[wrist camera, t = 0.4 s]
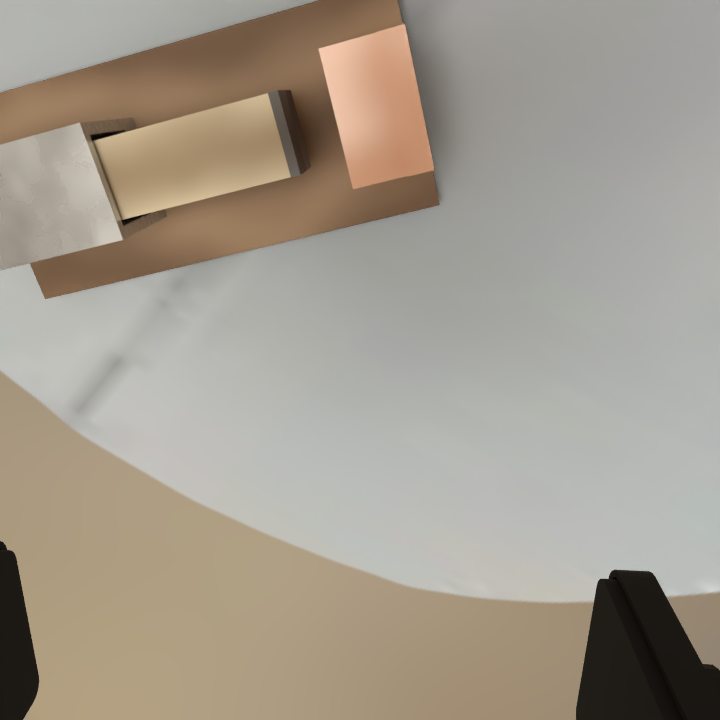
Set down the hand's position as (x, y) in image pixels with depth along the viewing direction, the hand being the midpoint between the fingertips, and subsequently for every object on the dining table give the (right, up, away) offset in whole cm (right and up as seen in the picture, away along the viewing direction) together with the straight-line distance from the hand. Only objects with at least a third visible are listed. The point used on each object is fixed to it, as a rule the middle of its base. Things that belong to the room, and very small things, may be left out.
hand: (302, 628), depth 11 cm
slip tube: (-11, +15, +27) cm, 33 cm away
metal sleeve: (-16, +15, +30) cm, 37 cm away
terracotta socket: (+2, +18, +27) cm, 33 cm away
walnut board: (-8, +17, +30) cm, 35 cm away
